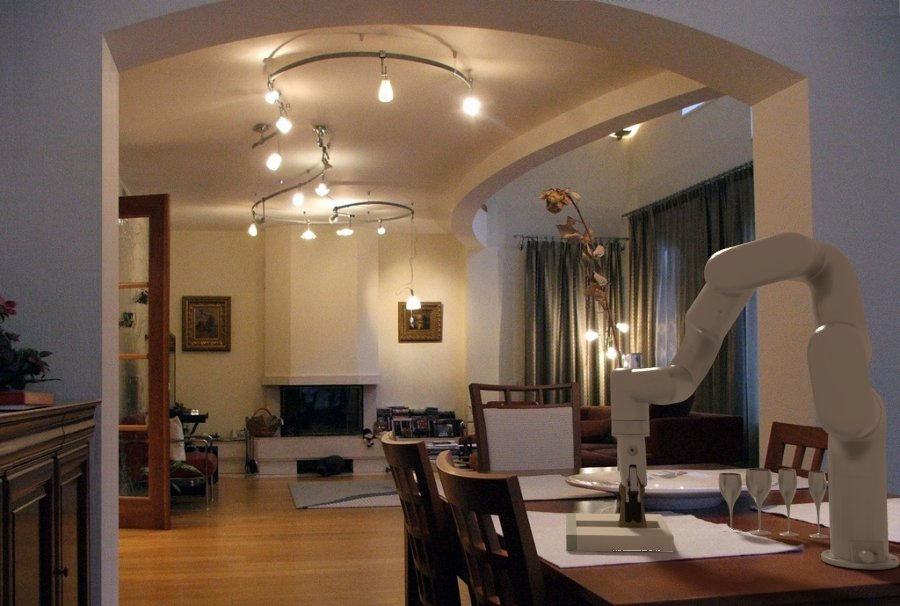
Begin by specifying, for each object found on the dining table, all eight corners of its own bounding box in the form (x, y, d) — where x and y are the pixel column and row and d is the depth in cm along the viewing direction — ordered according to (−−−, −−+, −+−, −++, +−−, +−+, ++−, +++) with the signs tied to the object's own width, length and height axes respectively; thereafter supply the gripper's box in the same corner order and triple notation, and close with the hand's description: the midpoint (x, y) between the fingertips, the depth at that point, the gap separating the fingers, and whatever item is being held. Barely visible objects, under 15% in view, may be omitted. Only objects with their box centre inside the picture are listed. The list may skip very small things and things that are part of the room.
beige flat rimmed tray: (673, 552, 175) (673, 536, 175) (566, 550, 178) (566, 534, 178) (661, 528, 199) (660, 514, 199) (566, 527, 201) (566, 513, 202)
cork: (648, 539, 184) (646, 483, 185) (617, 538, 186) (615, 482, 186) (648, 533, 190) (646, 479, 191) (618, 532, 191) (616, 478, 192)
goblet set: (718, 533, 194) (716, 468, 195) (721, 528, 200) (719, 465, 200) (865, 542, 184) (863, 474, 184) (864, 536, 189) (862, 470, 190)
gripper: (652, 432, 180) (655, 528, 179) (645, 425, 197) (648, 513, 196) (613, 432, 181) (615, 527, 180) (609, 425, 198) (611, 513, 197)
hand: (632, 519), depth 188 cm, fingers closed on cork, 3 cm apart
